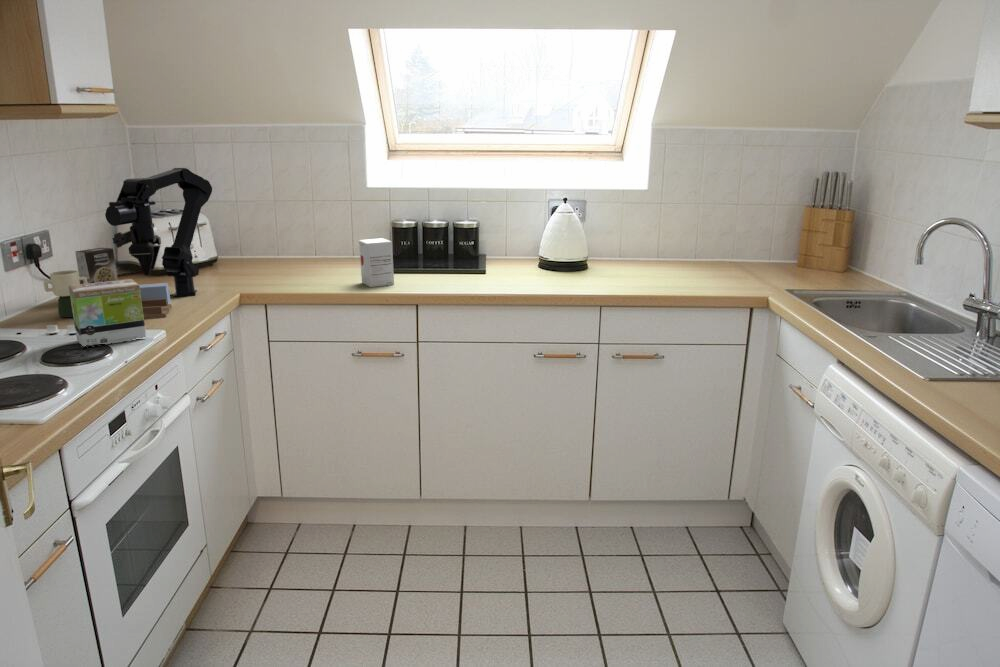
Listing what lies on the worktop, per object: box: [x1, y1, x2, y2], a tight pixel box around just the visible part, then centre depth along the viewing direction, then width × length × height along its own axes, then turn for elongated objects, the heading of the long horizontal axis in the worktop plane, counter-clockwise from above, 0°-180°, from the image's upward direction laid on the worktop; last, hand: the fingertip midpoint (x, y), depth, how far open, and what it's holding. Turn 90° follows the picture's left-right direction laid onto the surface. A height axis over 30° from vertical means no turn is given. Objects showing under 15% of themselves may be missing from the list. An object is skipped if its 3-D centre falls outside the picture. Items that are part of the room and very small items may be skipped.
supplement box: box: [358, 237, 395, 288], centre depth 253 cm, size 9×9×15 cm
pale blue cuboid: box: [138, 282, 171, 305], centre depth 229 cm, size 5×9×6 cm, turn 106°
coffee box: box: [74, 247, 119, 284], centre depth 235 cm, size 9×6×16 cm
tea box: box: [69, 278, 147, 347], centre depth 190 cm, size 15×10×15 cm, turn 126°
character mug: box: [43, 270, 88, 318], centre depth 215 cm, size 11×7×13 cm, turn 118°
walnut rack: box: [141, 299, 172, 320], centre depth 217 cm, size 12×14×3 cm
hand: (149, 272), depth 228 cm, fingers open, 9 cm apart
